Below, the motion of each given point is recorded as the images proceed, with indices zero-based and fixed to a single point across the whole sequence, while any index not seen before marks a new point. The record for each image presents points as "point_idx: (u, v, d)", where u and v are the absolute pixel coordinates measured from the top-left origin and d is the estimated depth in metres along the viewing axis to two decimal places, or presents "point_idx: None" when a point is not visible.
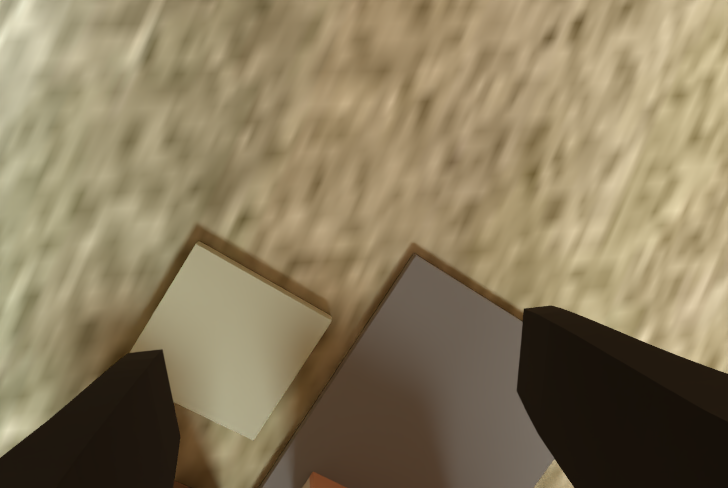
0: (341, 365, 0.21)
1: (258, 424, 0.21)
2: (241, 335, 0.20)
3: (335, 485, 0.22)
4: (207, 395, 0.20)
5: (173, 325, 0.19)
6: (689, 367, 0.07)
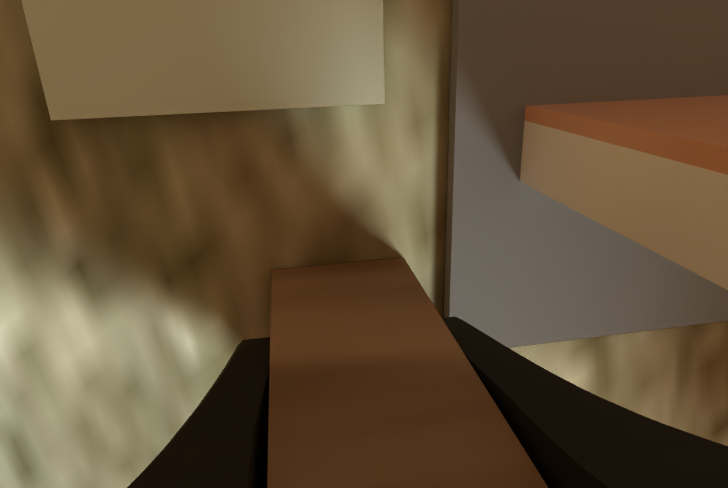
0: None
1: (374, 64, 0.09)
2: None
3: (582, 103, 0.10)
4: (241, 60, 0.09)
5: None
6: (556, 385, 0.07)
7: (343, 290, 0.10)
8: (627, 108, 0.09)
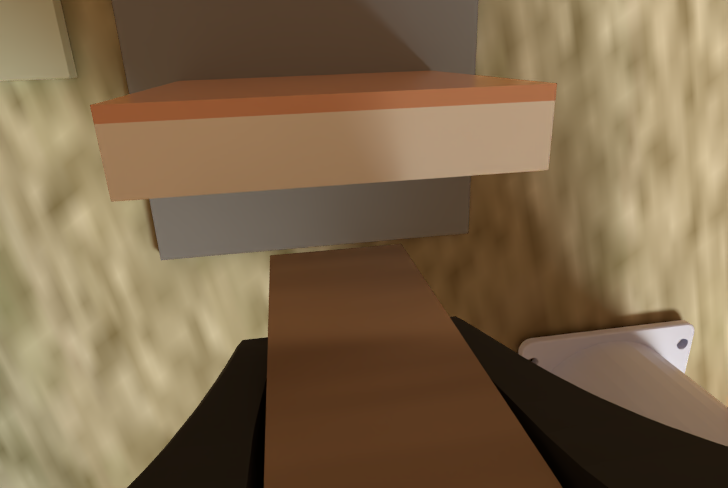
0: None
1: (57, 52, 0.15)
2: None
3: (215, 79, 0.15)
4: None
5: None
6: (555, 385, 0.07)
7: (340, 274, 0.10)
8: (220, 80, 0.14)
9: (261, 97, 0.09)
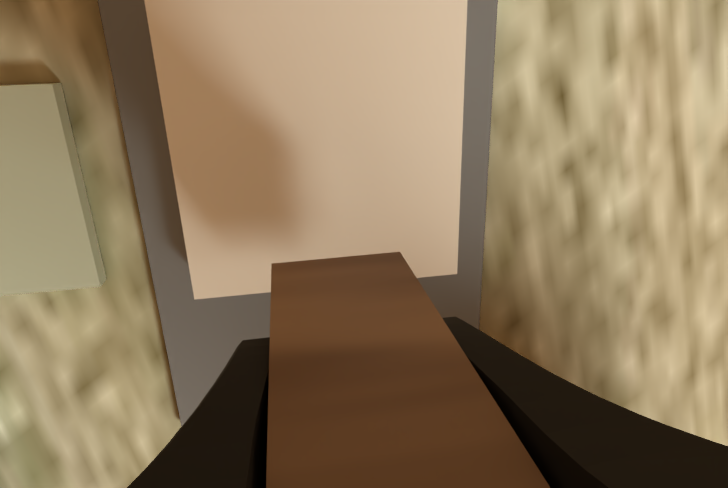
0: (126, 137, 0.15)
1: (89, 266, 0.15)
2: None
3: None
4: (1, 268, 0.15)
5: None
6: (556, 385, 0.07)
7: (341, 282, 0.10)
8: None
9: None
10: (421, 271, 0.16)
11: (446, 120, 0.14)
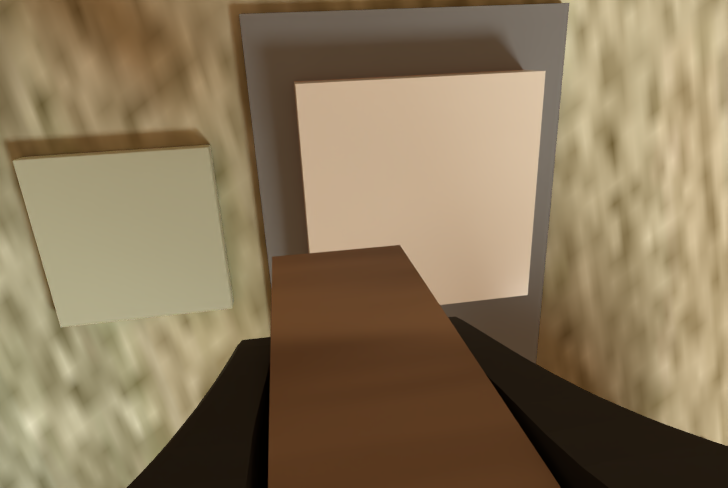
0: (259, 186, 0.18)
1: (224, 291, 0.19)
2: (135, 221, 0.17)
3: None
4: (155, 295, 0.18)
5: (66, 252, 0.17)
6: (556, 385, 0.07)
7: (341, 274, 0.10)
8: None
9: None
10: (498, 293, 0.19)
11: (524, 171, 0.17)
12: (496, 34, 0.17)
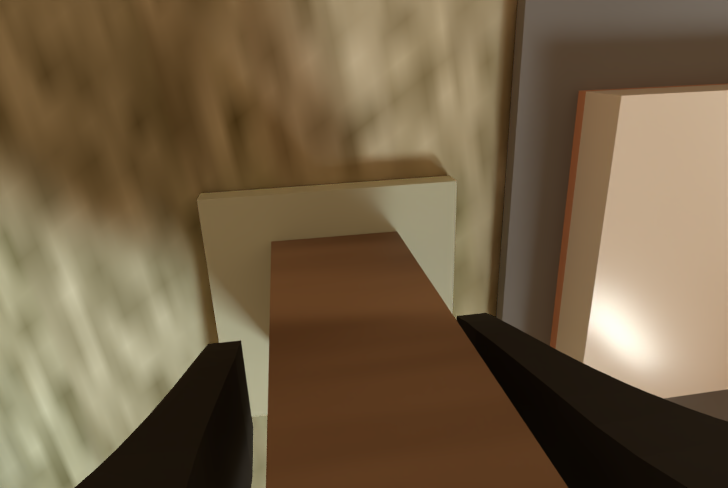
0: (505, 232, 0.13)
1: None
2: None
3: None
4: None
5: (252, 323, 0.12)
6: (598, 379, 0.07)
7: (338, 259, 0.11)
8: None
9: None
10: None
11: None
12: None
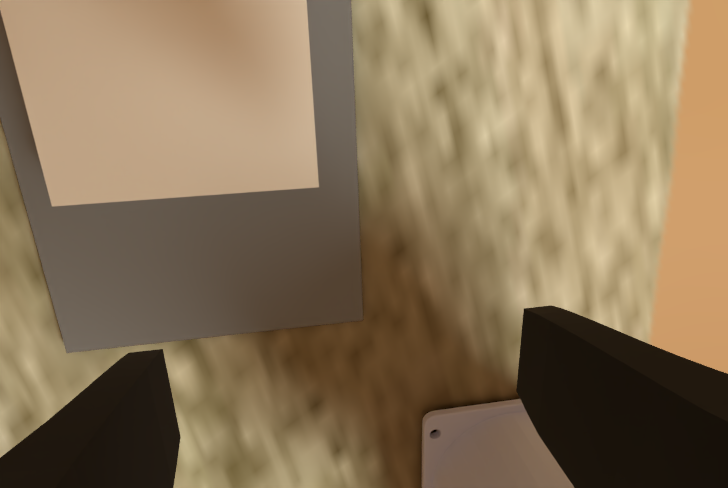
0: None
1: None
2: None
3: None
4: None
5: None
6: (689, 367, 0.07)
7: None
8: None
9: None
10: (281, 183, 0.16)
11: (291, 26, 0.14)
12: None
